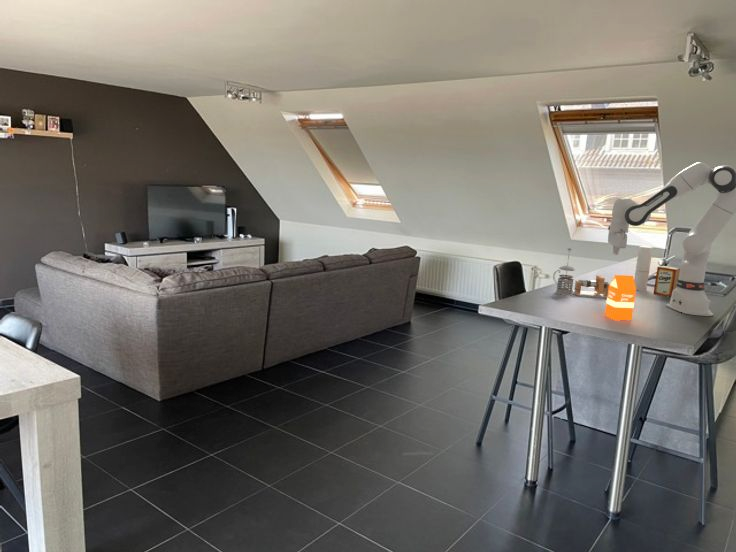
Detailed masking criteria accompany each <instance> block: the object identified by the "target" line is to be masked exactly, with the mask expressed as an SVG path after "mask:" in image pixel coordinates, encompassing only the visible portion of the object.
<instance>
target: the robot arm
mask: <svg viewBox="0 0 736 552" xmlns="http://www.w3.org/2000/svg"><path fill="white" fill-rule="evenodd" d="M707 184H709V185H711V186H712V187H713V188H714V189H715V190H717V191H718V192H717V195H716V196H715V198H714V199H713V200H712V202H711V203H710V204H709V206H708V208H706V210H705V211H704V213H703V214H702V215H701V217H700V218H699V219H698V220H697V221H696V223H695V224H694V226H692V228H691V229H690V230H689V232H688V233H687V234H686V235H685V236H684V238H683V241H682V248H683V250H684V251H683V255H682V259H681V263H680V268H679V269H680V272H679V278H678V279H677V284H676V286H677V287H676V288H675V289H674V290H673V291H672V295H671V297H670V300H669V303H666V305H665V306H666V307H668V308H670V309H672V310H674V311H677V312H680V313H681V312H682V314H686V315H693V316H699V317H700V316H702V317H713V316H714V313H713V312H712V311H711V310H710V309H709V308H710V307H709V306H710V305H711V303H712V301H711V300H709V299H708V296H707V295H706V292H705V289H706V287H705V286H706V285H705V282H704V281H705V277H706V271H707V265H708V261H709V258H710V252H711V249H712V244H713V242H714V241H715V240H716V239H717V237H718V236H719V234H721V232H722V231H724V229H725V227H726V226H727V225H728V223H729V222H730V221H731V220H732V218H734V216H735V214H736V169H735V168H734V167H732V166H730V165H726V164H725V165H724V164H722V165H719V166H715V167H710V166H709V165H708V164H707V163H704V162H703V161H698V162H695V163H692V165H689V166H688V167H685V168H684V169H683V170H680V172H678V173H677V174H676V175H674V176H673V177H672V178H671V179H670V180H669V181H668V182H666V184H665V185H664V186H663V187H662V188H660V190H659V191H658V192H657V193H655V194H653V195H652V196H651V197H649V198H648V199H647V200H645V201H644V202H642V203H640V204H639V203H637V202H636V201H634V200H633V199H632V198H631V197H624V198H618V199H616V200H614V203H613V206H612V213H611V216H612V218H611V220H610V225H608V226H607V229H608V236H607V242H608V244H609V245H611V246H612V254H613V255H614V256H618V255H619V251H620V250H621V249H626V248H627V245H628V244H627V243H628V234H627V233H628V232H629V226H632V227H639V226H641V225H643V224H645V223H647V222H648V221H649V220H650V219H651V216H652V215H651V214H652V213H653V212H655V211H656V210H657V209H659V208H661V207H662V206H663V205H665V204H667V203H669V202H671V201H674V200H677V199H681V198H684V197H685V196H688V195H689V194H690V193H692V192H695V191H696V189H698V188H699V187H701V186H703V185H707Z"/></svg>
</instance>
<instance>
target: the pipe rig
mask: <svg viewBox="0 0 736 552" xmlns="http://www.w3.org/2000/svg"><path fill="white" fill-rule="evenodd" d="M599 282H600V281H596V280H590V279H585V280H584V279H576V280H575V283H574V289H572V293H573V292H574V293H575V294H576V295H578V296H577V297H586V296H590V298H599V297H603V298H602V299H607V296H608V289H609V285H610V283H609V282H608V281H604V288H603V294H598V293H597V292H596V291H591V290H582V287H584V288H594V289H595V288H599ZM574 293H573V294H574ZM575 294H574V295H575ZM576 295H575V296H576Z"/></svg>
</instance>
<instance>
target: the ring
mask: <svg viewBox="0 0 736 552" xmlns="http://www.w3.org/2000/svg"><path fill="white" fill-rule="evenodd" d="M595 276H596V277H595V281H600V282H599V288H594V290H593V292H597V293H598V294H603V288H604V282H605V280H606V279H605V277H603V276H602V275H600V274H599V275H598V274H596V275H595Z"/></svg>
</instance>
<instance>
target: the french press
mask: <svg viewBox="0 0 736 552" xmlns="http://www.w3.org/2000/svg"><path fill="white" fill-rule="evenodd" d="M567 251H568V252H570V251H572V248H570V247H568V248H567ZM569 259H570V255H568V258H567V260H569ZM561 270H562V271H566V274H560V273H561ZM574 271H576V269H575V268H574V267H573V266H570V265H569V263H567V264H566V265H562V266H560V267H559V269H557V270H556V271H554V273H553V274H552V275H553V276H552V279H553V281H554V282H556V290H555V291H554V294H556V293H558V294H557V295H560V294H562V295H561V296H567V295H570V296H574V295H573V294H574V293H573V292H572V290H573V286H574V279H573V278H574V276H573V275H568V272H574ZM557 272H558V273H559V278H557V280H556V279H555V276H556V274H557Z"/></svg>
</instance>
